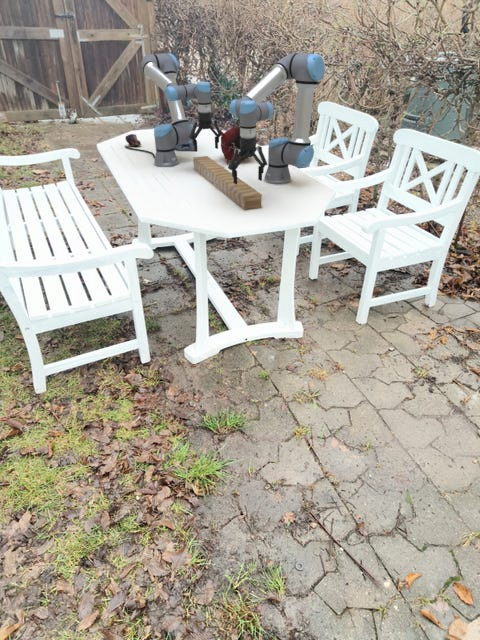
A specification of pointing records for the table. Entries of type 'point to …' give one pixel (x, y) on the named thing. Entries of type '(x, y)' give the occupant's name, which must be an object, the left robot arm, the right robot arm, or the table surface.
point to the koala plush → (185, 146)
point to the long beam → (228, 183)
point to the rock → (132, 140)
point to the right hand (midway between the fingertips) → (247, 181)
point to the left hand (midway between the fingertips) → (206, 149)
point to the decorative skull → (231, 143)
